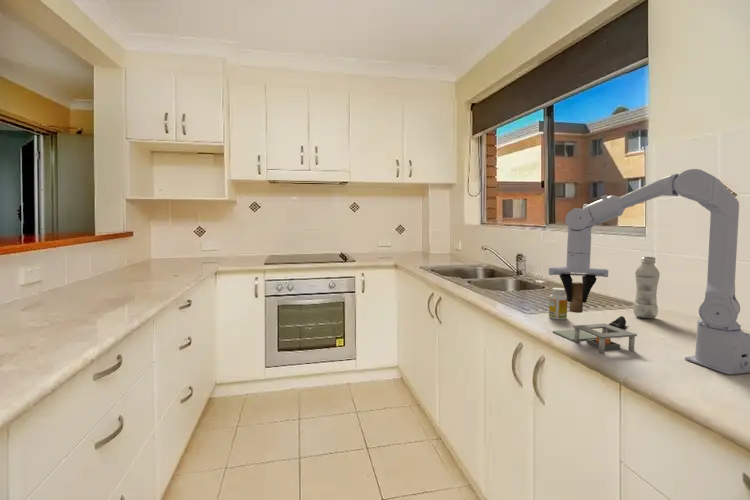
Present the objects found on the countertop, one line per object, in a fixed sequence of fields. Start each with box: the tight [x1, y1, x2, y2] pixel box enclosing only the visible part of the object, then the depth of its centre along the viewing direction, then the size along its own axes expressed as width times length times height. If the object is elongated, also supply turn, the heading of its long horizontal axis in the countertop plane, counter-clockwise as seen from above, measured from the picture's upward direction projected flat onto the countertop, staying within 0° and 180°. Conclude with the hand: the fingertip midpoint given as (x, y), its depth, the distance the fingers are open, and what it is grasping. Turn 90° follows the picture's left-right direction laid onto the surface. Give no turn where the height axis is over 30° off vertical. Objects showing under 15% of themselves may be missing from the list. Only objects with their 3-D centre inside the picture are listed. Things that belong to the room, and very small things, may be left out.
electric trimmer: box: [607, 315, 627, 333], centre depth 114 cm, size 4×16×3 cm, turn 137°
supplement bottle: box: [548, 287, 568, 321], centre depth 127 cm, size 5×5×10 cm
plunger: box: [595, 336, 612, 345], centre depth 100 cm, size 3×3×2 cm
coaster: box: [552, 328, 596, 342], centre depth 108 cm, size 8×8×1 cm
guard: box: [572, 323, 638, 355], centre depth 100 cm, size 10×10×4 cm
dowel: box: [569, 281, 584, 314], centre depth 107 cm, size 3×3×8 cm
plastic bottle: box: [632, 256, 660, 319], centre depth 126 cm, size 6×7×20 cm
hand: (576, 301), depth 107 cm, fingers closed on dowel, 3 cm apart
